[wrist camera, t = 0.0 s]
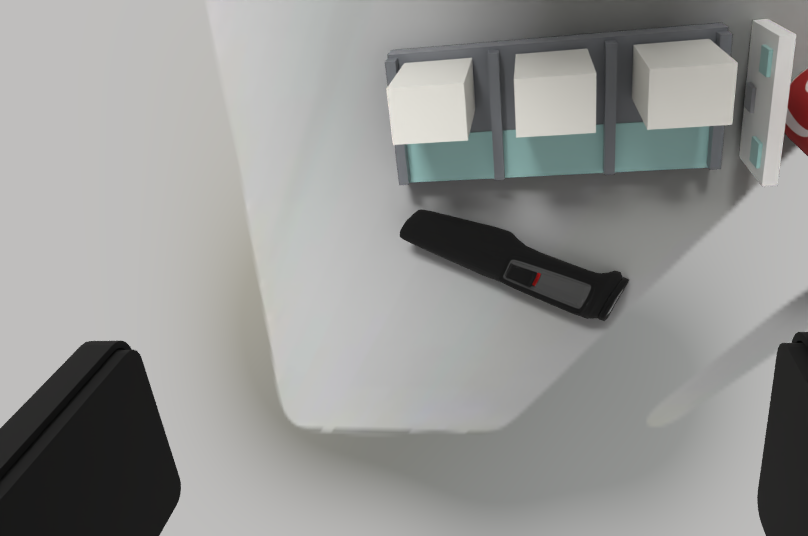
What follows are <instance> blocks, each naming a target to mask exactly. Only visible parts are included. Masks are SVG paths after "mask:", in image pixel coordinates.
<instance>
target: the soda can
mask: <svg viewBox="0 0 808 536" xmlns="http://www.w3.org/2000/svg"><path fill="white" fill-rule="evenodd" d="M784 132H785V134H786V135H787V136H788V138H789V139H790V140H791V141H793V142H794V143H795V144H796V145H797V146H798V147H799V148H800V149H801V150H802V151H803V152H804V153H805V154H806V155H807V156H808V68H807V69H805V70H804V71H803V72H801V73H800V74H799V75H798V76H796V77H795V78H794V79H793V81H792V82H791V83H790V91H789V99H788V107H787V115H786V123H785V131H784Z"/></svg>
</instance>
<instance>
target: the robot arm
mask: <svg viewBox="0 0 808 536" xmlns="http://www.w3.org/2000/svg"><path fill="white" fill-rule="evenodd" d="M180 491H181V482H180V478H179V475H178V471H177V468H176V465H175V462H174V459H173V456H172V453H171V449H170V447H169V443H168V440H167V437H166V434H165V431H164V427H163V425H162V421H161V418H160V415H159V412H158V409H157V405H156V402H155V399H154V396H153V393H152V390H151V387H150V384H149V380H148V377H147V374H146V371H145V368H144V364H143V362H142V358H141V356H140V354H139V353H138V352H137V351H135V350H131V348H130V346H129V345H128V344H127V343H126V342H124V341H89V342H85V343H84V344H83V345H81V346H80V347H79V348H78V349H77V350H76V351H75V352H74V354H73V355H72V356H71V357H70V358H69V359H68V360H67V361H66V362H65V363H64V364H63V365H62V366H61V367H60V368H59V369H58V370H57V371H56V372H55V373H54V374H53V375H52V376H51V377H50V378H49V379H48V380H47V381H46V382H45V383H44V384H43V385H42V386H41V387H40V388H39V389H38V391H36V393H35V394H34V395H33V396H32V397H31V398H30V399H29V400H28V401H27V402H26V403H25V404H24V405H23V406H22V407H21V408H20V409H19V410H18V411H17V412H16V413H15V414H14V415H13V416H12V417H11V418H10V419H9V420H8V421H7V422H6V423H5V424H4V425H3V426H2V427H1V428H0V536H159V535H160V533H161V531H162V530H163V528H164V526H165V524H166V523H167V521H168V519H169V517H170V516H171V514H172V512H173V510H174V508H175V507H176V505H177V503H178V500H179V497H180ZM757 498H758V511H759V516H760V520H761V523H762V526H763V529H764V532H765V534H766V536H808V332H798V333H796V334H795V336H794V338H793V340H792V343H782V344H780V346H779V348H778V351H777V357H776V364H775V372H774V380H773V386H772V393H771V401H770V408H769V415H768V422H767V430H766V438H765V444H764V452H763V459H762V466H761V473H760V480H759V487H758V497H757Z"/></svg>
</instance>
